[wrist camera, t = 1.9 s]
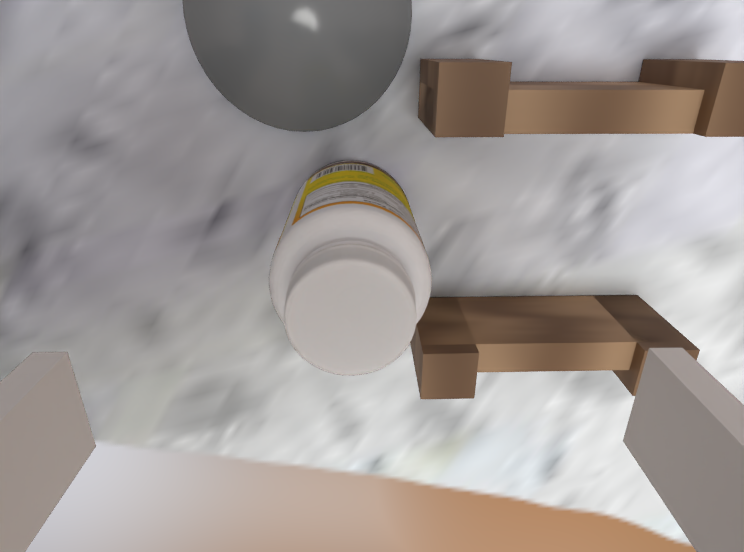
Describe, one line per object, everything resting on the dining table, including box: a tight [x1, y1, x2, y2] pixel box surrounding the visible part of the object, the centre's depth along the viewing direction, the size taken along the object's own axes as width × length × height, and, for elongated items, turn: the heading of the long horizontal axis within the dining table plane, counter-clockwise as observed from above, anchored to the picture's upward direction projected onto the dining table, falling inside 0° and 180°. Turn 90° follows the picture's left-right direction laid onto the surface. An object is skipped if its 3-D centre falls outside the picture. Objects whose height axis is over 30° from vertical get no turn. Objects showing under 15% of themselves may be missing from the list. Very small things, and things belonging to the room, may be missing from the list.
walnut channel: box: [410, 59, 744, 399], centre depth 22 cm, size 12×14×5 cm
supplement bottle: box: [269, 161, 432, 375], centre depth 19 cm, size 6×6×10 cm
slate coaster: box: [183, 0, 412, 132], centre depth 20 cm, size 9×9×1 cm
